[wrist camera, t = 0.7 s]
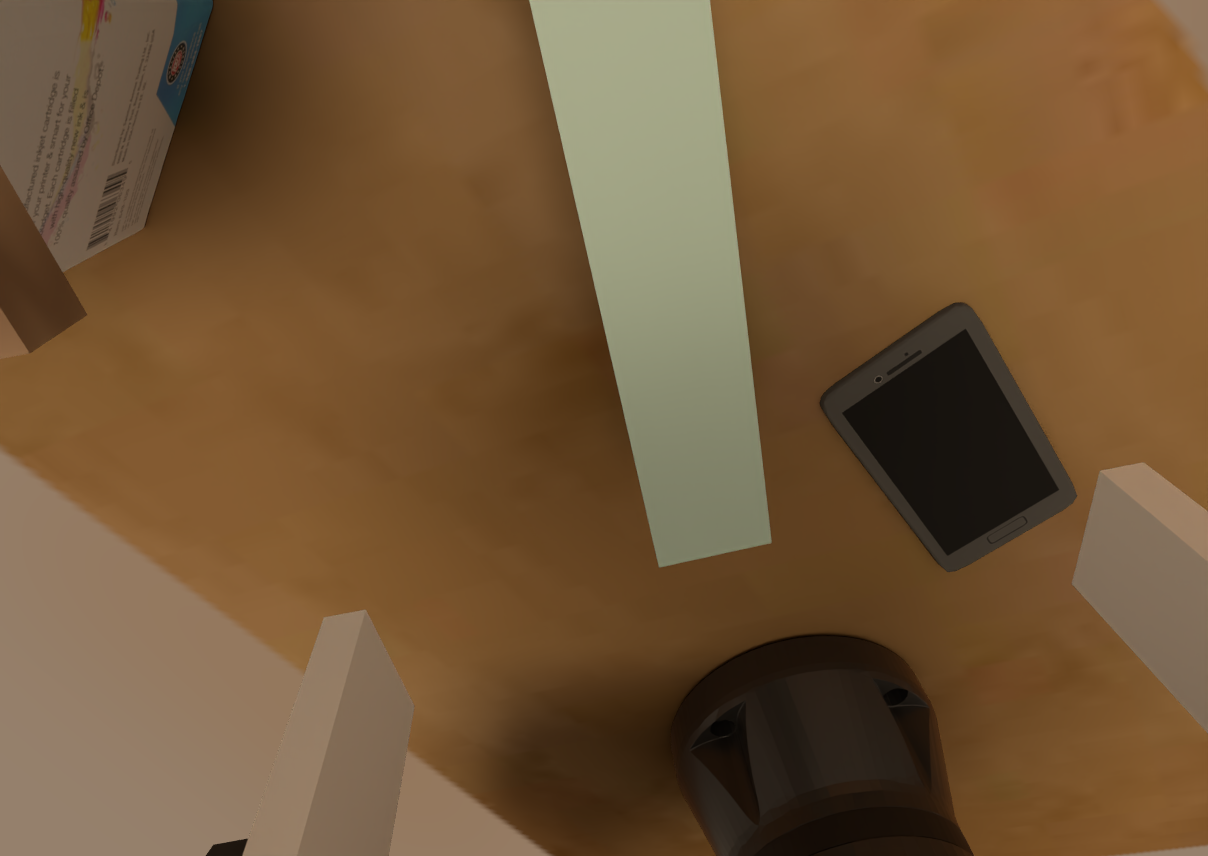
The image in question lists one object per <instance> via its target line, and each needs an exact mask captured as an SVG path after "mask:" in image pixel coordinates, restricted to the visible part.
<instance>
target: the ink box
mask: <svg viewBox="0 0 1208 856" xmlns="http://www.w3.org/2000/svg"><path fill="white" fill-rule="evenodd" d="M212 7H213V0H0V165H1V167H2V169H3V171H4V172H5V174H6V176H7V178H8V179H9V181H10V183H11V184H12V186H13V188H14V190H15V191H16V193H17V195H18V196H19V198H20V200H21V202H22V203H23V205H24V207H25V208H26V210H27V212H28V214H29V215H30V217H31V219H32V221H33V222H34V224H35V226H36V227H37V229H38V231H39V233H40V234H41V236H42V238H43V239H44V241H45V243H46V245H47V246H48V248H49V250H50V251H51V253H52V255H53V257H54V258H55V260H56V262H57V263H58V265H59V267H60V269H61V270H62V272H64V271H66V270H68V269H70V268H72V267H73V266H75V265H77V264H79V263H81V262H83V261H84V260H86V259H88V258H90V257H92V256H94V255H95V254H97V253H99V252H101V251H103V250H105V249H107V248H108V247H110V246H112V245H114V244H116V243H118V242H120V241H121V240H123V239H125V238H127V237H129V236H131V235H133V234H135V233H136V232H138V231H140V230H142V229H143V228H144V226H145V222H146V218H147V215H148V211H149V208H150V205H151V202H152V199H153V196H154V192H155V189H156V186H157V183H158V180H159V177H160V173H161V170H162V166H163V163H164V160H165V157H166V154H167V151H168V147H169V144H170V141H171V138H172V135H173V132H174V129H175V125H176V122H177V118H178V115H179V112H180V109H181V106H182V103H183V100H184V97H185V93H186V90H187V87H188V84H189V81H190V77H191V74H192V71H193V68H194V65H195V62H196V59H197V55H198V52H199V49H200V45H201V42H202V39H203V36H204V32H205V29H206V26H207V23H208V19H209V16H210V13H211V10H212Z"/></svg>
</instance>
